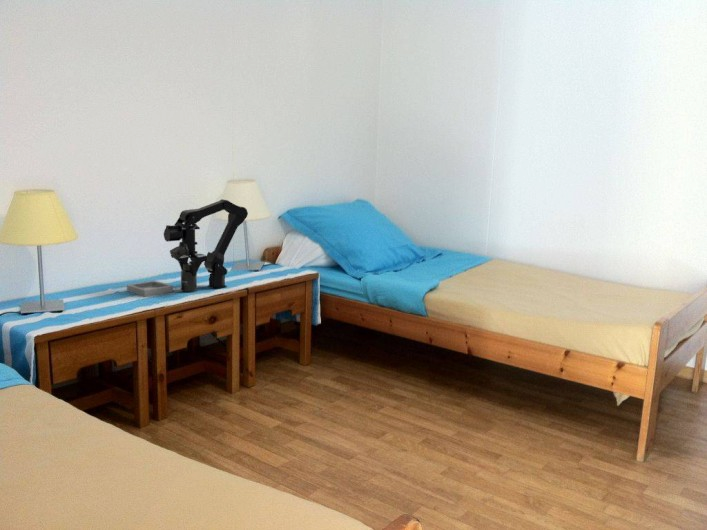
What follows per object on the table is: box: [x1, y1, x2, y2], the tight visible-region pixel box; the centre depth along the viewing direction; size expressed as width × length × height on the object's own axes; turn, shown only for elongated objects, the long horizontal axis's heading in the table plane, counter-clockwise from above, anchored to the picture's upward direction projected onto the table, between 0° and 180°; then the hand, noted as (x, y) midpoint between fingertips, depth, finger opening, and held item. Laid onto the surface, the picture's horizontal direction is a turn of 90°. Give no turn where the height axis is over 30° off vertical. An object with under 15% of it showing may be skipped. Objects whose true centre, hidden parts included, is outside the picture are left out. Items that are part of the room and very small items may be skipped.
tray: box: [126, 280, 174, 297], centre depth 299 cm, size 14×14×3 cm
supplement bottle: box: [180, 262, 198, 293], centre depth 301 cm, size 7×7×12 cm
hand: (188, 274), depth 301 cm, fingers closed on supplement bottle, 7 cm apart
